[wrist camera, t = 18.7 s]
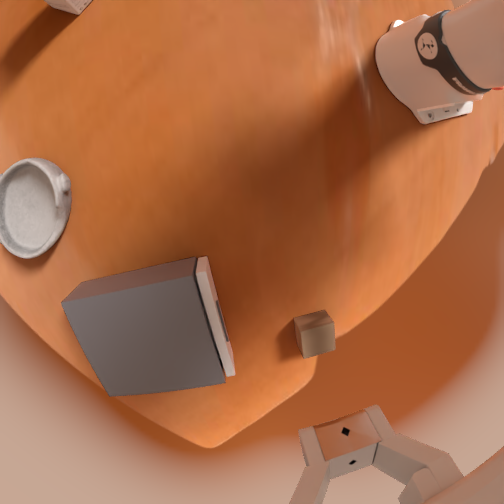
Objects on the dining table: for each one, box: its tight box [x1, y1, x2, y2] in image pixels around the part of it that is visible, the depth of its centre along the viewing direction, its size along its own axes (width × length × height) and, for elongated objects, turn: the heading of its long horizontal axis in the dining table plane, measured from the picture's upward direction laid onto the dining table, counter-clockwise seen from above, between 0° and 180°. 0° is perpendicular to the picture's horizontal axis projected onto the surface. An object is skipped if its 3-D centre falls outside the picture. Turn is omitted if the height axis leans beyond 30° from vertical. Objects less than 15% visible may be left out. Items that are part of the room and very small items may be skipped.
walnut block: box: [293, 310, 335, 359], centre depth 41 cm, size 5×5×4 cm
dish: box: [0, 158, 71, 259], centre depth 30 cm, size 14×14×5 cm
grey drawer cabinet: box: [61, 257, 226, 396], centre depth 36 cm, size 18×16×7 cm
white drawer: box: [195, 256, 235, 377], centre depth 36 cm, size 18×16×6 cm
